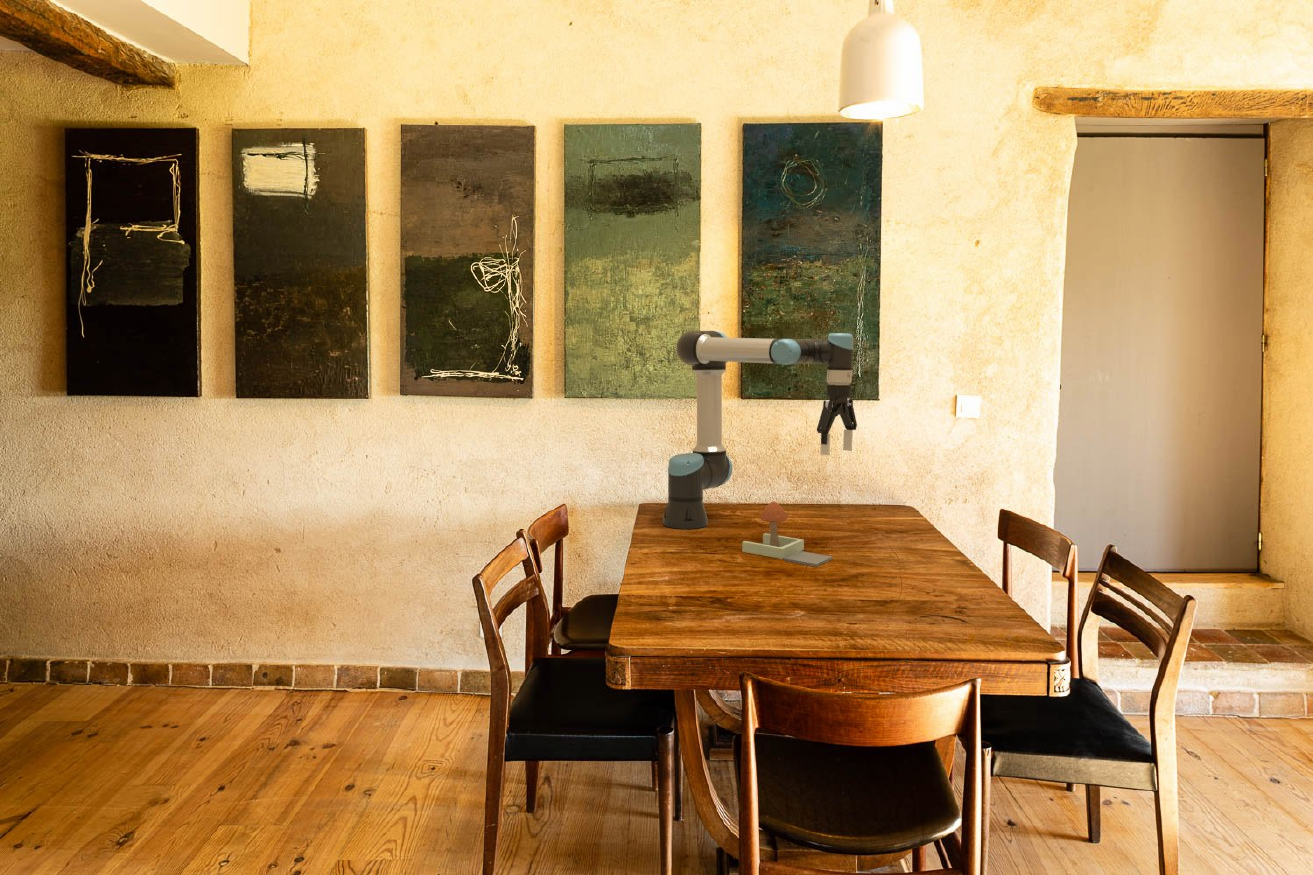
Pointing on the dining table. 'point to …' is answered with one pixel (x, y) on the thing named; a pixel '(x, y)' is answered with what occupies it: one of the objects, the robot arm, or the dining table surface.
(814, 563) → the coaster
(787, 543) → the cream u-shaped piece
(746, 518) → the dining table surface
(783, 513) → the mushroom
